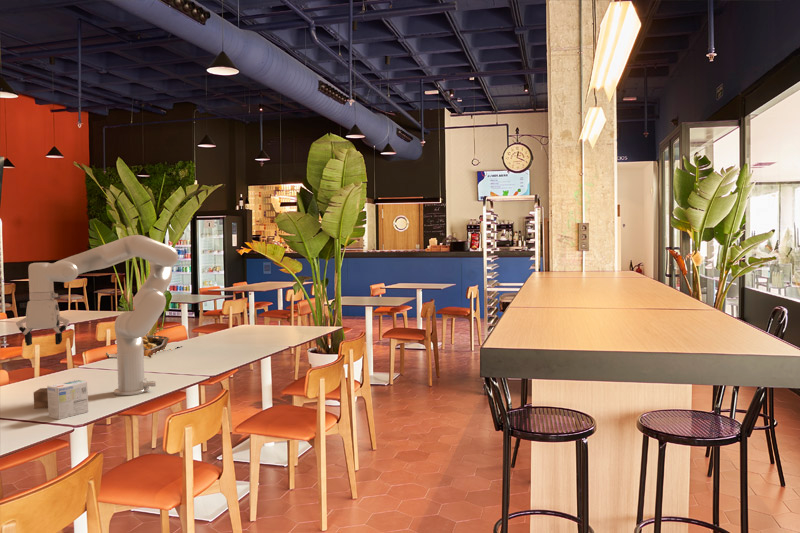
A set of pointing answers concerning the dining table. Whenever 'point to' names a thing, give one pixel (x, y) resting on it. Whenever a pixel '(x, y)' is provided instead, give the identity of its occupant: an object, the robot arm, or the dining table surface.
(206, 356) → the dining table surface
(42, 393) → the walnut cube
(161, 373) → the dining table surface
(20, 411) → the dining table surface
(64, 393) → the light bulb box
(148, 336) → the food tray
